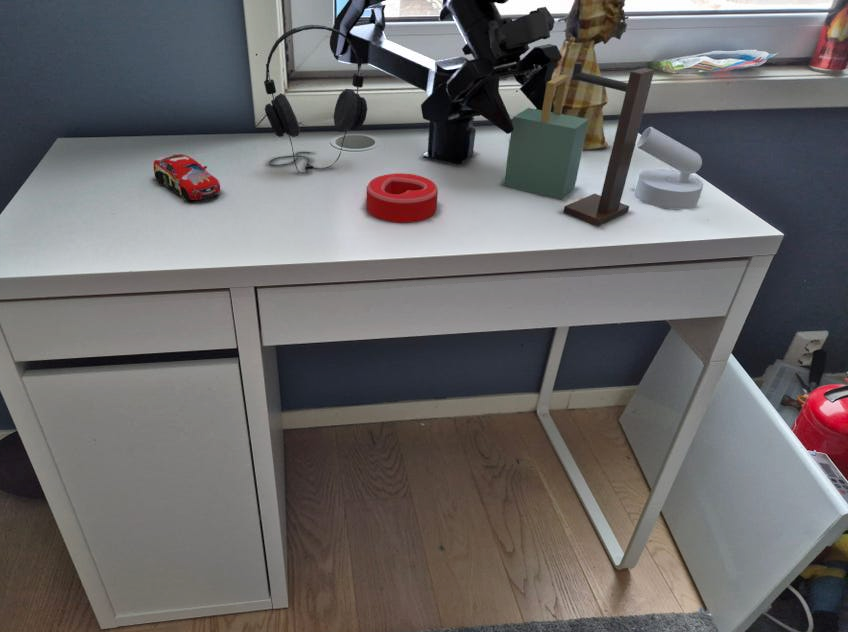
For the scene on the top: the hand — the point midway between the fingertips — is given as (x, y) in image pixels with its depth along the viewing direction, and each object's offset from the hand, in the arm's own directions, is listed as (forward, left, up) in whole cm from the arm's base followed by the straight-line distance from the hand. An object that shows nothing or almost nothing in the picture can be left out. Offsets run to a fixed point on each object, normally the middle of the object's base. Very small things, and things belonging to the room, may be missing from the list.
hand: (532, 125), depth 92 cm
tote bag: (+2, 0, -9) cm, 9 cm away
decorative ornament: (-12, -16, -9) cm, 22 cm away
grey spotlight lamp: (+19, +6, -9) cm, 22 cm away
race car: (-42, -25, -9) cm, 50 cm away
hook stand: (+9, -4, -9) cm, 13 cm away
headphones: (-31, -8, -9) cm, 33 cm away
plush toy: (0, +23, -9) cm, 24 cm away
